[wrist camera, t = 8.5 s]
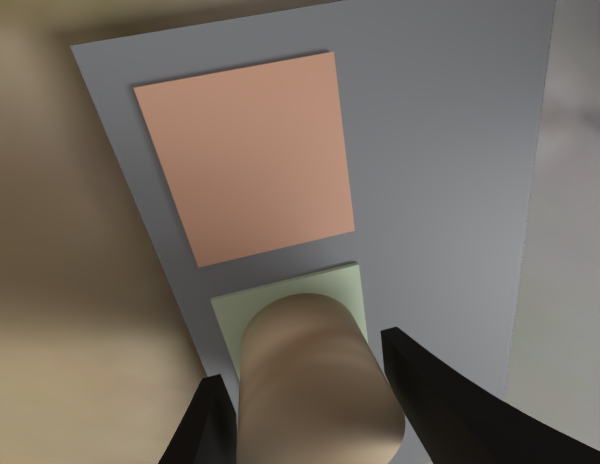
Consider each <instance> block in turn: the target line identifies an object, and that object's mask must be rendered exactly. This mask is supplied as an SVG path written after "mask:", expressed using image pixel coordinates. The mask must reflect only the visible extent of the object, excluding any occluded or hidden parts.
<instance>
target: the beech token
mask: <svg viewBox="0 0 600 464" xmlns="http://www.w3.org/2000/svg"><path fill="white" fill-rule="evenodd" d="M405 423H406V422H405V415H404V412H403V410H402V407H401V405H400V404H399V402H398V400H397V398H396V396H395V394H394V392H393V390H392V388H391V387H390V385H389V383H388V381H387V379H386V377H385V375H384V373H383V372H382V370H381V368H380V366H379V364H378V362H377V360H376V358H375V356H374V355H373V353H372V351H371V349H370V347H369V345H368V343H367V341H366V340H365V338H364V336H363V334H362V332H361V330H360V328H359V326H358V324H357V323H356V321H355V319H354V317H353V315H352V314H351V312H350V311H349V310H348V309H347V308H346V307H345V306H344V305H343V304H342V303H340V302H339V301H337V300H335V299H333V298H331V297H328V296H325V295H320V294H313V293H303V294H295V295H290V296H286V297H283V298H281V299H278V300H276V301H274V302H272V303H270V304H269V305H267V306H266V307H264V308H263V309H261V310H260V311H259V312H258V313H257V314H256V315H255V316H254V317H253V318H252V320H251V321H250V322H249V324H248V326H247V327H246V329H245V332H244V334H243V338H242V343H241V360H240V383H239V405H238V428H237V451H236V457H237V464H388V463H389V461H390V460H391V459H392V458H393V457H394V455H395V454H396V452H397V451H398V449H399V447H400V445H401V443H402V440H403V438H404V433H405Z"/></svg>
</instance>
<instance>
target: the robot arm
mask: <svg viewBox="0 0 600 464" xmlns="http://www.w3.org/2000/svg"><path fill="white" fill-rule="evenodd" d="M380 332H381V342H382V353H383V363H384V373H385V375H386V377H387V380H388V382H389V384H390V386H391V388H392V390H393V392H394V394H395V396H396V398H397V400H398V402H399V404H400V405H401V407H402V410H403V412H404V414H405V416H406V417H407V419H408V421H409V422H410V424H411V426H412V428H413V429H414V431H415V433H416V434H417V436H418V438H419V440H420V441H421V443H422V445H423V446H424V448H425V450H426V452H427V453H428V455H429V457H430V459H431V460H432V462H433V464H600V451H598V450H596V449H594V448H592V447H590V446H588V445H586V444H584V443H581V442H579V441H577V440H575V439H573V438H571V437H569V436H567V435H565V434H563V433H561V432H559V431H557V430H555V429H553V428H551V427H549V426H547V425H545V424H543V423H541V422H540V421H538V420H536V419H534V418H532V417H530V416H528V415H527V414H525V413H523V412H521V411H519V410H518V409H516V408H514V407H513V406H511V405H509V404H507V403H506V402H504V401H502V400H501V399H499V398H497V397H496V396H494V395H492V394H491V393H489V392H487V391H486V390H484V389H483V388H481V387H480V386H478V385H477V384H475V383H473V382H472V381H470V380H469V379H467V378H466V377H464V376H463V375H461V374H460V373H459V372H457V371H456V370H454V369H453V368H451V367H450V366H449V365H447V364H446V363H444V362H443V361H442V360H440V359H439V358H437V357H436V356H435V355H433V354H432V353H431V352H429V351H428V350H427V349H425V348H424V347H423V346H421V345H420V344H419V343H418V342H416V341H415V340H414V339H412V338H411V337H410V336H409V335H407V334H406V333H405V332H404V331H402V330H401V329H400V328H398V327H397V326H396V327H393V328H389V329H385V330H381V331H380ZM236 451H237V415H236V412H235V409H234V407H233V404H232V401H231V399H230V396H229V394H228V391H227V389H226V386H225V384H224V381H223V378H222V376H221V374H218V375H214V376H210V377H206V378H203V379H202V381H201V382H200V384H199V386H198V388H197V390H196V392H195V394H194V396H193V399H192V401H191V403H190V405H189V407H188V409H187V411H186V413H185V415H184V417H183V419H182V421H181V423H180V424H179V426H178V428H177V430H176V432H175V434H174V436H173V438H172V439H171V441H170V443H169V445H168V447H167V449H166V451H165V452H164V454H163V456H162V458H161V459H160V461H159V463H158V464H236V461H237V457H236Z"/></svg>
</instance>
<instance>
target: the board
mask: <svg viewBox="0 0 600 464" xmlns="http://www.w3.org/2000/svg"><path fill="white" fill-rule="evenodd" d="M555 1H556V0H343V1H337V2H331V3H325V4H319V5H313V6H307V7H301V8H295V9H289V10H283V11H277V12H271V13H265V14H259V15H253V16H247V17H241V18H235V19H229V20H222V21H216V22H210V23H204V24H198V25H192V26H186V27H180V28H174V29H168V30H162V31H156V32H150V33H144V34H138V35H132V36H126V37H120V38H114V39H108V40H102V41H96V42H90V43H84V44H78V45H72V46H70V47H71V50H72V52H73V55H74V57H75V59H76V62H77V64H78V67H79V69H80V71H81V74H82V76H83V79H84V81H85V83H86V86H87V88H88V91H89V93H90V95H91V98H92V100H93V103H94V105H95V107H96V110H97V112H98V115H99V117H100V119H101V122H102V124H103V127H104V129H105V131H106V134H107V136H108V139H109V141H110V143H111V146H112V148H113V151H114V153H115V155H116V158H117V160H118V163H119V165H120V167H121V170H122V172H123V175H124V177H125V179H126V182H127V184H128V187H129V189H130V191H131V194H132V196H133V199H134V201H135V203H136V206H137V208H138V211H139V213H140V215H141V218H142V220H143V223H144V225H145V227H146V230H147V232H148V235H149V237H150V239H151V242H152V244H153V247H154V249H155V251H156V254H157V256H158V259H159V261H160V263H161V266H162V268H163V271H164V273H165V275H166V278H167V280H168V283H169V285H170V287H171V290H172V292H173V295H174V297H175V299H176V302H177V304H178V307H179V309H180V311H181V314H182V316H183V319H184V321H185V323H186V326H187V328H188V331H189V333H190V335H191V338H192V340H193V343H194V345H195V347H196V350H197V352H198V355H199V357H200V359H201V362H202V364H203V367H204V369H205V371H206V374H207V376H208V377H210V376H214V375H218V374H221V376H222V378H223V381H224V384H225V386H226V389H227V391H228V394H229V396H230V399H231V401H232V404H233V407H234V409H235V412H236V415H237V428H238V405H239V383H240V360H241V343H242V338H243V334H244V332H245V329H246V327H247V326H248V324H249V322H250V321H251V320H252V318H253V317H254V316H255V315H256V314H257V313H258V312H259V311H260V310H261V309H263V308H264V307H266V306H267V305H269V304H270V303H272V302H274V301H276V300H278V299H281V298H283V297H286V296H290V295H295V294H303V293H313V294H320V295H325V296H328V297H331V298H333V299H335V300H337V301H339V302H340V303H342V304H343V305H344V306H345V307H346V308H347V309H348V310H349V311H350V312H351V314H352V315H353V317H354V319H355V321H356V323H357V324H358V326H359V328H360V330H361V332H362V334H363V336H364V338H365V340H366V341H367V343H368V345H369V347H370V349H371V351H372V353H373V355H374V356H375V358H376V360H377V362H378V364H379V366H380V368H381V370H382V372H383V373H384V363H383V353H382V342H381V332H380V331H381V330H385V329H389V328H393V327H396V326H397V327H398V328H400V329H401V330H402V331H404V332H405V333H406V334H407V335H409V336H410V337H411V338H412V339H414V340H415V341H416V342H418V343H419V344H420V345H421V346H423V347H424V348H425V349H427V350H428V351H429V352H431V353H432V354H433V355H435V356H436V357H437V358H439V359H440V360H442V361H443V362H444V363H446V364H447V365H449V366H450V367H451V368H453V369H454V370H456V371H457V372H459V373H460V374H461V375H463V376H464V377H466V378H467V379H469V380H470V381H472V382H473V383H475V384H477V385H478V386H480V387H481V388H483V389H484V390H486V391H487V392H489V393H491V394H492V395H494V396H496V397H497V398H499V399H501V400H502V401H504V399H505V391H506V383H507V376H508V368H509V360H510V352H511V344H512V337H513V329H514V321H515V313H516V305H517V297H518V290H519V282H520V274H521V266H522V258H523V251H524V243H525V235H526V227H527V219H528V212H529V204H530V196H531V188H532V180H533V172H534V165H535V157H536V149H537V141H538V133H539V126H540V118H541V110H542V102H543V94H544V87H545V79H546V71H547V63H548V55H549V47H550V40H551V32H552V24H553V16H554V8H555ZM384 375H385V373H384ZM385 377H386V375H385ZM386 379H387V377H386ZM387 381H388V380H387ZM388 383H389V382H388ZM389 385H390V384H389ZM390 387H391V386H390ZM404 415H405V414H404ZM405 422H406V423H405V433H404V438H403V440H402V443H401V445H400V447H399V449H398V451H397V452H396V454H395V455H394V457H393V458H392V459H391V460H390V461H389V463H388V464H420V463H423V462H427V461H430V460H431V459H430V457H429V455H428V453H427V452H426V450H425V448H424V446H423V445H422V443H421V441H420V440H419V438H418V436H417V434H416V433H415V431H414V429H413V428H412V426H411V424H410V422H409V421H408V419H407V417H406V416H405Z"/></svg>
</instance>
